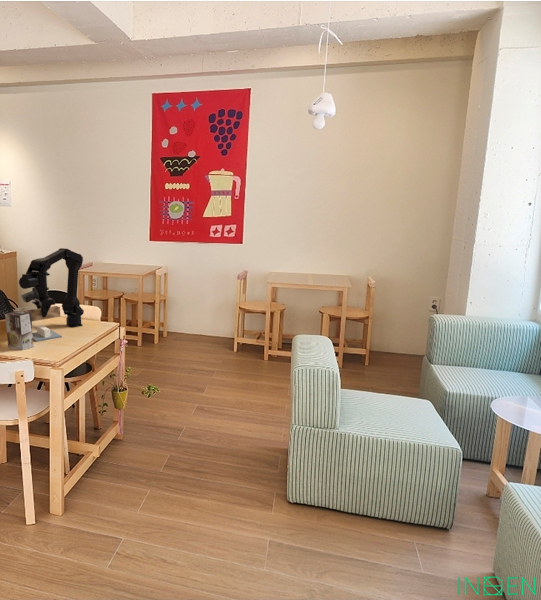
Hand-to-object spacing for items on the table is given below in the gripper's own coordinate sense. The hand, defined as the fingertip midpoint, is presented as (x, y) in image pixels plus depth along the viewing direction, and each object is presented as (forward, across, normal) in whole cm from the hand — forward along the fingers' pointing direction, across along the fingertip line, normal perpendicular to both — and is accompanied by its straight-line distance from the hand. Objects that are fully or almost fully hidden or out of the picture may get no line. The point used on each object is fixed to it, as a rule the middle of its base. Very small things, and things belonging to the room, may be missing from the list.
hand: (42, 316), depth 218 cm
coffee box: (+10, +11, -14) cm, 21 cm away
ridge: (+10, 0, 0) cm, 10 cm away
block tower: (+11, -24, -2) cm, 27 cm away
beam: (+1, 0, 0) cm, 1 cm away
